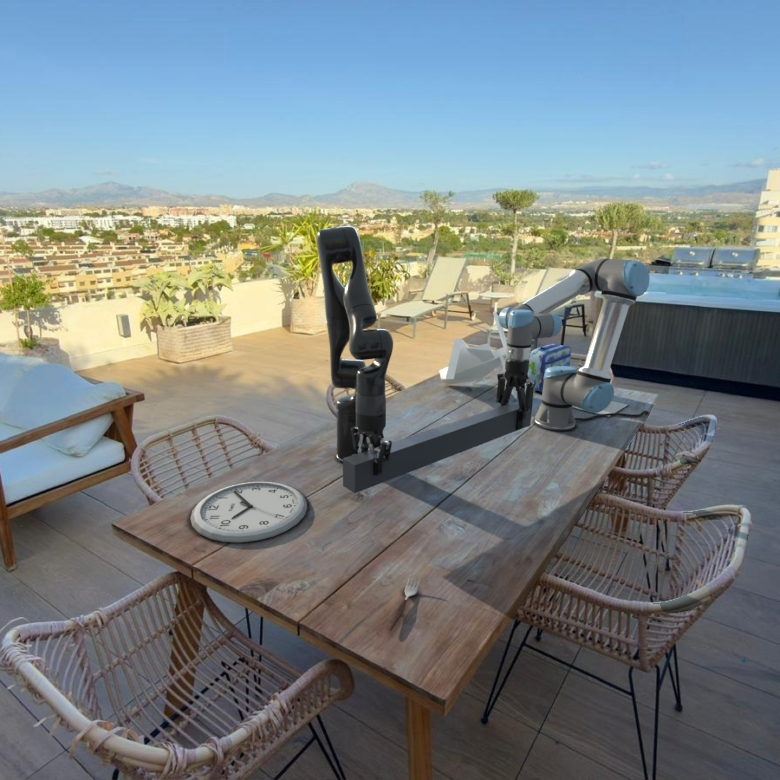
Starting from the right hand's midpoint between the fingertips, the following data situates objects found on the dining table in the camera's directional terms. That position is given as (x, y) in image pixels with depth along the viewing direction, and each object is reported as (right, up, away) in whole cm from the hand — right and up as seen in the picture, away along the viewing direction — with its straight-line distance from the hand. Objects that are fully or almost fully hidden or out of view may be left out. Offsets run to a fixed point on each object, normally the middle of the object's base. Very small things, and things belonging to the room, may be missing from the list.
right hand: (511, 426), depth 174 cm
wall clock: (-78, -20, -35) cm, 88 cm away
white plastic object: (+1, +11, +69) cm, 70 cm away
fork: (-38, -32, -69) cm, 85 cm away
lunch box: (+35, +13, +77) cm, 85 cm away
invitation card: (+51, +5, +52) cm, 73 cm away
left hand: (-46, -9, -39) cm, 61 cm away
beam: (-23, -6, -19) cm, 30 cm away
